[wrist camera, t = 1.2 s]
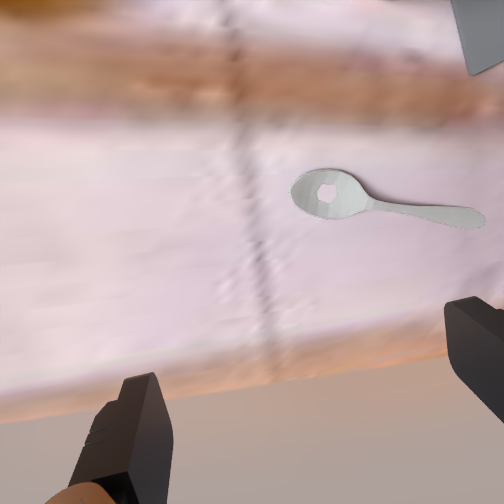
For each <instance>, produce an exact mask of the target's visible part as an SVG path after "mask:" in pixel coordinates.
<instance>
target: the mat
mask: <svg viewBox="0 0 504 504" xmlns="http://www.w3.org/2000/svg"><path fill="white" fill-rule="evenodd" d="M451 3H452V7H453V12H454V16H455V20H456V24H457V28H458V32H459V36H460V41H461V45H462V49H463V53H464V57H465V61H466V66H467V70H468V74H469V75H475V74H477V73H479V72H481V71H483V70H485V69H487V68H489V67H491V66H494V65H496V64H498V63H500V62H502V61H504V0H451Z"/></svg>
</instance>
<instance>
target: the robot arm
mask: <svg viewBox="0 0 504 504" xmlns="http://www.w3.org/2000/svg"><path fill="white" fill-rule="evenodd" d="M444 317H445V327H446V338H447V349H448V356H449V360H450V363H451V365H452V368H453V370H454V371H455V373H456V374H457V376H458V377H459V378H460V379H461V380H462V381H463V382H464V383H465V384H466V385H467V386H468V387H469V388H470V389H471V390H472V391H473V392H474V393H475V394H476V395H477V397H479V399H480V400H482V402H484V403H485V405H486V406H487V407H488V408H489V409H490V410H491V411H492V412H493V413H494V414H495V415H496V416H497V417H498V418H499V419H500V420H501V421H502V422H503V423H504V310H503V309H497V310H496V309H495V308H493V307H492V306H490V305H489V304H487V303H486V302H484V301H482V300H481V299H479V298H478V297H476V296H472V297H468V298H464V299H460V300H455V301H451V302H447V303H446V304H445V307H444ZM172 451H173V430H172V425H171V421H170V418H169V414H168V411H167V408H166V405H165V402H164V399H163V396H162V392H161V389H160V386H159V383H158V380H157V377H156V375H155V374H154V373H153V372H151V373H147V374H143V375H138V376H134V377H130V378H126V379H125V380H124V382H123V385H122V388H121V391H120V394H119V397H118V400H115V401H111V402H108V403H107V404H106V405H105V406H104V407H103V408H102V409H101V411H100V412H99V413H98V414H97V415H96V416H95V418H94V421H93V423H92V426H91V429H90V434H88V436H87V439H86V441H85V447H83V449H82V452H81V454H80V457H79V459H78V462H77V464H76V467H75V470H74V472H73V475H72V477H71V480H70V482H69V485H68V487H67V488H66V489H64V490H62V491H60V492H59V493H57V494H56V495H54V496H53V497H52V498H50V499H49V500H48V501H47V502H46V503H45V504H167V496H168V487H169V478H170V469H171V461H172Z"/></svg>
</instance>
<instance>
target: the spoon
mask: <svg viewBox="0 0 504 504" xmlns="http://www.w3.org/2000/svg"><path fill="white" fill-rule="evenodd" d="M323 184H331V185H335V187H336V189H337V196H336V197H335V198H334V200H333V201H332V202H330V203H327V202H324V201H320V200H318V197H317V191H318V189H319V188H320V186H321V185H323ZM289 195H290V198H291V200H292V202H293V204H294V205H295V206H296V207H297V208H299V209H300V210H302V211H304V212H305V213H308V214H310V215H312V216H315V217H319V218H323V219H341V218H345V217H349V216H351V215H353V214H355V213H358V212H361V211H364V210H380V211H389V212H396V213H401V214H407V215H412V216H416V217H419V218H423V219H426V220H429V221H433V222H437V223H440V224H444V225H448V226H453V227H457V228H462V229H474V228H479V227H482V226H483V225H485V223H486V218H485V216H484V215H483V214H481V213H480V212H478V211H476V210H474V209H472V208H464V207H451V206H411V205H401V204H393V203H387V202H382V201H378V200H375V199H373V198H371V197H370V196H368V194H367V193H366V192H365V190H364V189H363V188H362V186H361V184H360V183H359V182H358V181H357V180H356V179H355V178H354V177H353V176H352V175H351V174H348V173H346V172H343V171H341V170H333V169H324V170H316V171H312V172H308V173H306V174H303V175H301V176H300V177H298V178H297V179H296V180H295V181H294V182H293V183H292V184H291V186H290V187H289Z"/></svg>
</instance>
